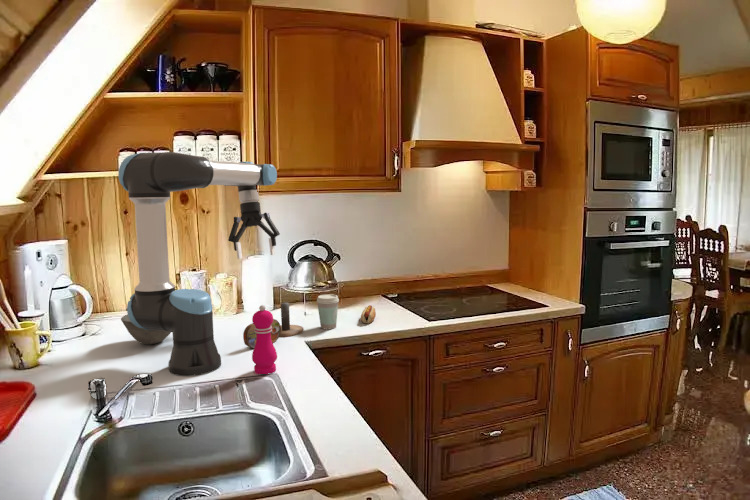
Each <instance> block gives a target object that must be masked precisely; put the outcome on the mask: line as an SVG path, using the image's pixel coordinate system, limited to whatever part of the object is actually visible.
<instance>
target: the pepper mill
mask: <svg viewBox="0 0 750 500" xmlns="http://www.w3.org/2000/svg"><path fill="white" fill-rule="evenodd" d="M273 319H274V315H273V313H272V312H271V311H269V310H268V309H267V310H266V306H265V305H263V304H261V305H260V306H259V307H258V311H255V313H254V314H253V315H252V319H251V320H252V323H253V324H254V325H255V326H256V327H255V328H254V329H255V333H256V336H257V338H256V345H255V347H254V348H253V350H252V354H251V361H252V362H253V363H254V364H255V365H254V366H253V369H254V373H255V374H256V375H259V374H267V375H269V374H268V373H271V374H274V373H275V372H276V370H277V368H276V367H277V364H276V363H275V362H276V361H277V359H278V353H277V351H276V347H275V346H274V343H272V340H271V331H272V326H271V324H272V322H273ZM273 372H274V373H273Z"/></svg>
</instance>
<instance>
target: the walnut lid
mask: <svg viewBox="0 0 750 500" xmlns="http://www.w3.org/2000/svg"><path fill="white" fill-rule="evenodd" d="M280 316H281V318H280V319H281V324H280V326H281V333H280V336H279V338H287V337H288V338H289V337H295V336H299V335H301V334H303V332H304V331H305V329H304V327H303V326H301V325H297V324H291V323H290V319H291V318H290V302H288V301H287V302H286V301H285V302H281V303H280Z"/></svg>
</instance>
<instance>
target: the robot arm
mask: <svg viewBox="0 0 750 500" xmlns="http://www.w3.org/2000/svg"><path fill="white" fill-rule="evenodd" d="M253 163H254V162H253V161H238V162H233V161H221V160H220V161H219V160H210V159H209V158H208V157H205V156H200V155H193V154H188V153H181V152H176V151H175V152H173V151H165V152H139V153H133V154H130V155H128V156H126V157H125V158H124V160H122V162H121V163H120V165H119V167H118V174H117V175H118V176H117V177H118V180H119V184H120V185H121V186H122V188H123V190H125V191H126V192H128V199H129V201H131V202H132V203H133V204H134V211H135V212H134V214H135V217H134V218H135V229H136V230H135V231H136V232H135V233H136V246H137V247H136V248H137V250H136V251H137V263H138V264H137V265H138V266H137V267H138V279H139V281H138V284H137V285H136V286H134V292H133V294H131V296H130V297H129V300H128V302H127V306H126V313H127V314H128V317H129V319H130V321H131V322H132V323H133V324H134V325H135V326H137V327H139V328H143V329H146V330H156V331H165V332H171V333H172V342H173V345H172V348H171V353H170V359H169V360H168V372H169V373H170V374H172V375H175V376H180V377H181V376H183V377H185V376H188V377H190V376H198V375H204V374H207V373H210V372H214V371H216V370H217V369H219V368H220V367H221V366H222V357H221V354H220V353H219V351H218V348H217V345H216V342H215V339H214V336H215V335H214V317H213V315H214V314H213V303H212V298H211V295H210V294H209V293H208V292H207V291H204V290H201V289H196V288H191V289H189V288H182V289H181V288H180V289H176V285H175V284H174V283H173V282H172V281H170V265H169V247H168V246H169V245H168V230H167V212H166V211H167V209H166V203H167V202H169V200H170V199H171V193H172V192H180V191H187V190H194V189H206V188H208V187H210V186H225V187H227V186H231V187H237V191H238V201H239V203H240V204H239V207H240V216H234V217H233V223H232V224H233V225H232V228H231V230H230V234H229V236H228V239H227V240H228V242H232V244H233V250H234V251H236V257H237V260H242V259H243V254H242V253H243V252H242V245H241V241H240V240H241V238H242V236H243V234H244V233H245V231H246V230H247V229H248V227H249V228H250V227H257V226H258V227H260V229H261V230H263V231H264V232H265V233H266V234H267V235H268V236H269V238H268V243H269V251H270V252H269V253H270V256H276V250H275V247H276V246H277V241H276V238H277V237H278V236H280V235H281V233H280V232H279V230H278V229H277V227H276V225H275V224H274V221H273V220H272V219H271V217H270V213H269V212H264V213H262V212H261V203H260V202H259V201H260V195H259V194H258V193H259V191H258V192H257V189H256V185H257V186H266V187H267V186H272V185H274V184H275V183H276V181H277V178H278V172H277V168H276V166H275V165H273V164H270V163H269V164H267V163H264V164H263V163H259V164H258V163H254V164H253ZM262 218H263V219H264V220H265V221H266V223H267V225H268V226H269V227H268V226H267V225H266V224H265V223H264V222H263V221H262ZM241 221H242V223H241ZM240 223H241V225H240V228H239V224H240ZM270 229H271V230H270Z"/></svg>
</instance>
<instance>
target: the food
mask: <svg viewBox="0 0 750 500" xmlns="http://www.w3.org/2000/svg"><path fill="white" fill-rule="evenodd" d="M376 315H377V313H376V308H375V306H373V305H367V306H365V307H364V309H363V310H362V312H361V315H360V320H361V321H362V322H363V323H364V324H370V323H372V322H373V321H374V320H375V318H376Z"/></svg>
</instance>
